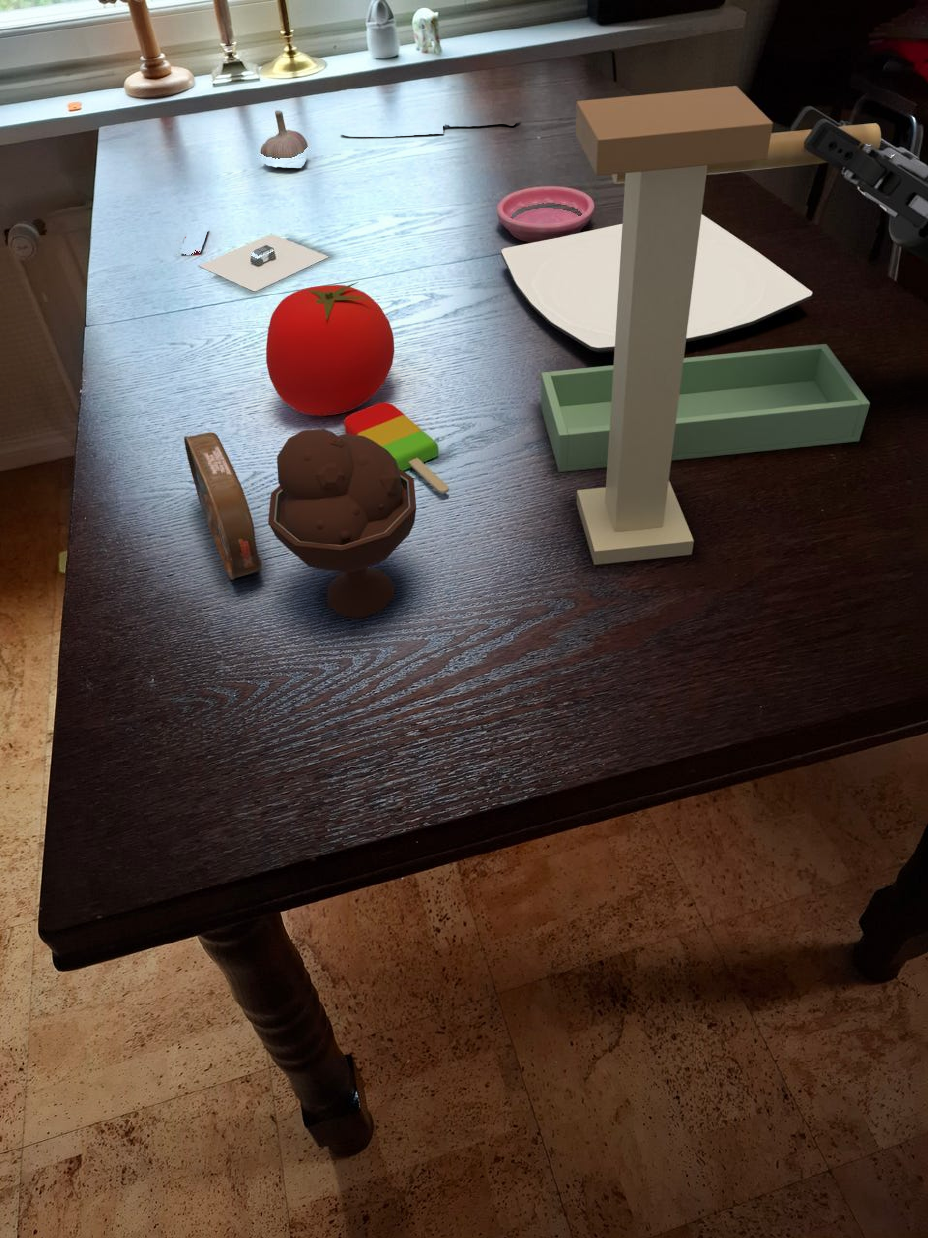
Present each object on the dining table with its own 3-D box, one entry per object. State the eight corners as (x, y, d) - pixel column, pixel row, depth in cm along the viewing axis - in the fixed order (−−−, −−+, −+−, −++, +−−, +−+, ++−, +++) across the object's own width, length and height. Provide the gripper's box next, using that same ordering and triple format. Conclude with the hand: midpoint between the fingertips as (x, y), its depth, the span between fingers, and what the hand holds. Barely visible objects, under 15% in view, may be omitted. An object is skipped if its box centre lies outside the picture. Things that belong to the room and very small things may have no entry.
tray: (817, 380, 91) (826, 343, 88) (859, 441, 83) (870, 403, 81) (541, 408, 90) (541, 372, 87) (558, 472, 83) (559, 435, 80)
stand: (679, 493, 80) (734, 82, 57) (704, 553, 74) (776, 125, 51) (565, 504, 80) (574, 97, 57) (581, 566, 74) (599, 142, 51)
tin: (197, 498, 83) (170, 419, 77) (231, 488, 84) (207, 409, 78) (237, 601, 74) (210, 519, 68) (275, 588, 74) (252, 507, 68)
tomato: (247, 409, 93) (219, 303, 85) (343, 352, 100) (325, 248, 92) (331, 450, 87) (310, 340, 79) (427, 386, 94) (416, 279, 86)
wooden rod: (864, 154, 72) (870, 119, 70) (877, 161, 70) (884, 126, 68) (610, 179, 71) (611, 145, 70) (617, 187, 69) (618, 152, 68)
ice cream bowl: (348, 665, 68) (311, 506, 57) (267, 591, 74) (220, 435, 63) (456, 595, 72) (441, 435, 62) (371, 531, 79) (344, 375, 68)
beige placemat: (198, 265, 118) (195, 254, 117) (271, 233, 124) (269, 222, 123) (254, 291, 112) (251, 279, 111) (329, 256, 118) (327, 244, 117)
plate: (486, 268, 112) (485, 247, 111) (693, 222, 118) (695, 201, 116) (586, 381, 93) (587, 357, 91) (827, 320, 99) (833, 296, 97)
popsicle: (390, 413, 91) (388, 397, 90) (472, 487, 82) (471, 470, 81) (341, 433, 89) (338, 416, 88) (419, 511, 80) (417, 494, 79)
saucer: (597, 246, 115) (598, 221, 113) (497, 251, 116) (497, 226, 113) (589, 206, 124) (590, 182, 121) (497, 211, 124) (496, 187, 122)
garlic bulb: (313, 171, 139) (303, 114, 133) (265, 178, 138) (253, 120, 133) (308, 154, 144) (298, 98, 139) (262, 161, 144) (250, 105, 138)
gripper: (960, 147, 78) (806, 48, 71) (1048, 213, 68) (879, 105, 62) (895, 229, 82) (745, 142, 76) (969, 301, 73) (804, 209, 66)
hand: (806, 126), depth 69 cm, fingers closed on wooden rod, 2 cm apart
